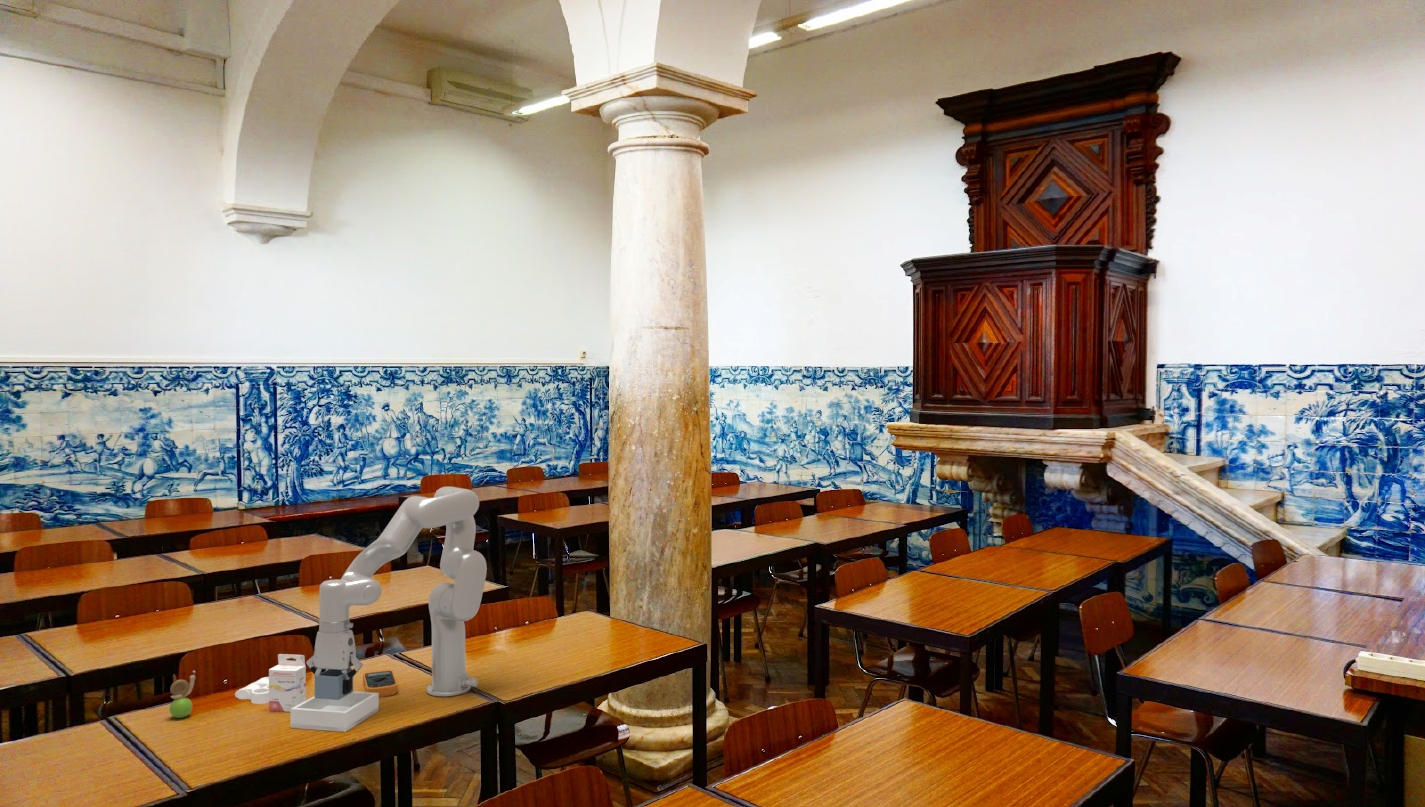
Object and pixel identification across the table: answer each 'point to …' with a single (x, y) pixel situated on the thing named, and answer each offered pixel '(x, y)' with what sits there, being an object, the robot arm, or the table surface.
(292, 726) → the big crate
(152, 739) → the table surface
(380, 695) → the multimeter
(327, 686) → the small crate
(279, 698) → the ink cartridge box
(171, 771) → the table surface
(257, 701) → the white brass knuckles
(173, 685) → the snail figurine
